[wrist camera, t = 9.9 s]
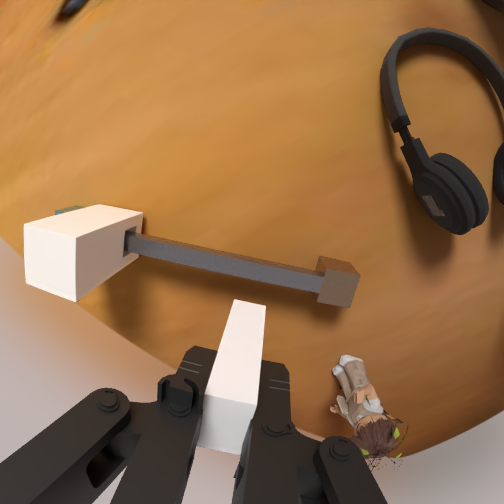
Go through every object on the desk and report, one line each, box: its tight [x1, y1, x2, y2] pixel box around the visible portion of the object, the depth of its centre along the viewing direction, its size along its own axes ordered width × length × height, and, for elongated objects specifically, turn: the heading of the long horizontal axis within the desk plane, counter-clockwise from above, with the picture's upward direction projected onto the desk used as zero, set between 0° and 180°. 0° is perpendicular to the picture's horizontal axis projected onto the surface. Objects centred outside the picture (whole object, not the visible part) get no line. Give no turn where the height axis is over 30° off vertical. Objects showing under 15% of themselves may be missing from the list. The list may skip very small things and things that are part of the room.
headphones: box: [381, 28, 504, 235], centre depth 21 cm, size 17×7×20 cm
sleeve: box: [24, 204, 143, 302], centre depth 22 cm, size 5×4×11 cm
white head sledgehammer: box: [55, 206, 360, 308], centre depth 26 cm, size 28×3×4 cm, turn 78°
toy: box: [330, 355, 408, 471], centre depth 23 cm, size 6×6×15 cm
